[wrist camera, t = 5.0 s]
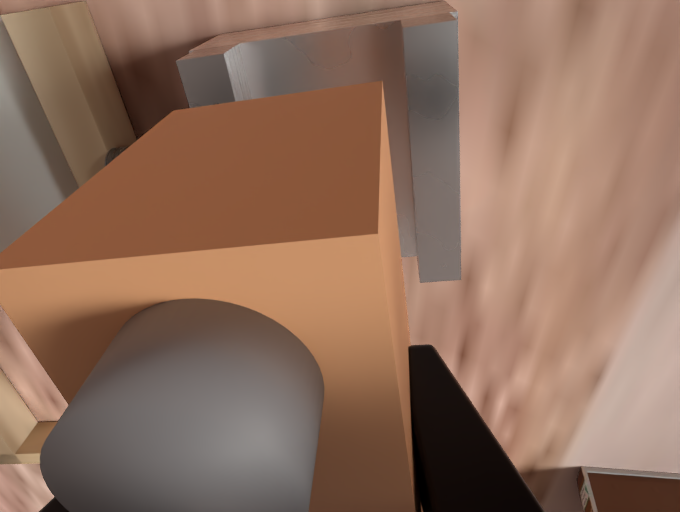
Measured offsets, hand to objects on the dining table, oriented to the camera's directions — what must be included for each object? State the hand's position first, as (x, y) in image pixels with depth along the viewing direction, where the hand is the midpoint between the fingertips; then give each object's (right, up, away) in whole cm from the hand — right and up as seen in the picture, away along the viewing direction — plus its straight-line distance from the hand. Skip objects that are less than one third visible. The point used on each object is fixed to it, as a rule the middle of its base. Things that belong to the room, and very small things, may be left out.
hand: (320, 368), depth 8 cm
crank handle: (0, 0, +1) cm, 1 cm away
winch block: (-2, +6, +9) cm, 11 cm away
